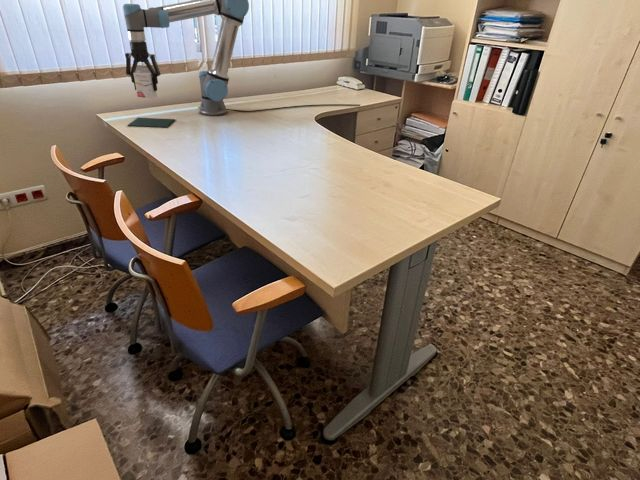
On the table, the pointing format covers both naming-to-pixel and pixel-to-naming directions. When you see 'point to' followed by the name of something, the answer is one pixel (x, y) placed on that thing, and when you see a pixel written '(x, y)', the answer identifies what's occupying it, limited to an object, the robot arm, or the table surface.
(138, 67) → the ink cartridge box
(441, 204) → the table surface
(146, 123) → the desk mat
